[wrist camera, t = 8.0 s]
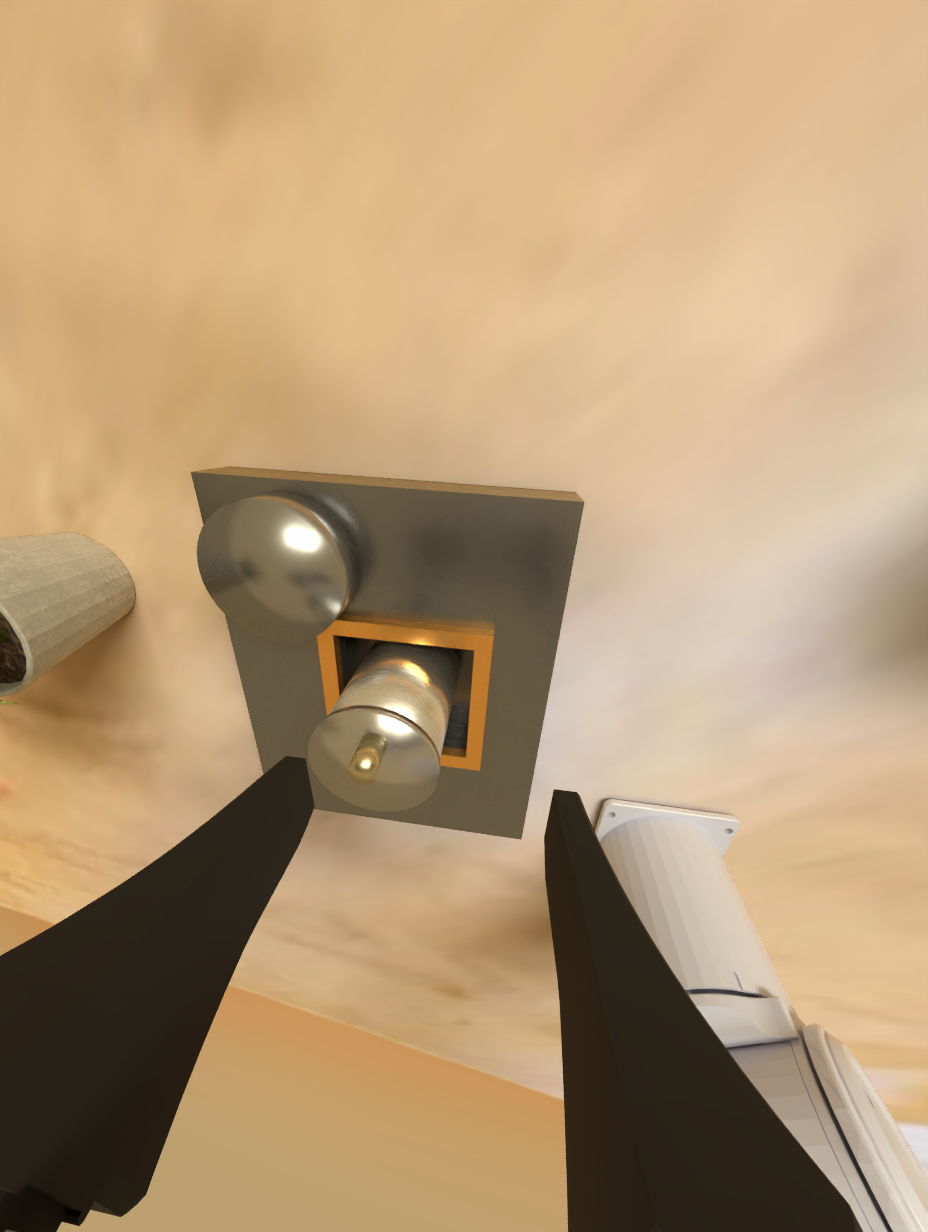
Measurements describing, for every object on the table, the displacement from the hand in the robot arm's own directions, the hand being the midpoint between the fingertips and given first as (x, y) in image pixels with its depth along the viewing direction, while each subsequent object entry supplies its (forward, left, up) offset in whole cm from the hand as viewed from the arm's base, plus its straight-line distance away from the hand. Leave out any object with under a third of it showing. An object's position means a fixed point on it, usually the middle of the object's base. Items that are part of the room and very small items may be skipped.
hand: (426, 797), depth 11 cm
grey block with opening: (-3, +4, -10) cm, 11 cm away
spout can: (-2, +3, -10) cm, 11 cm away
